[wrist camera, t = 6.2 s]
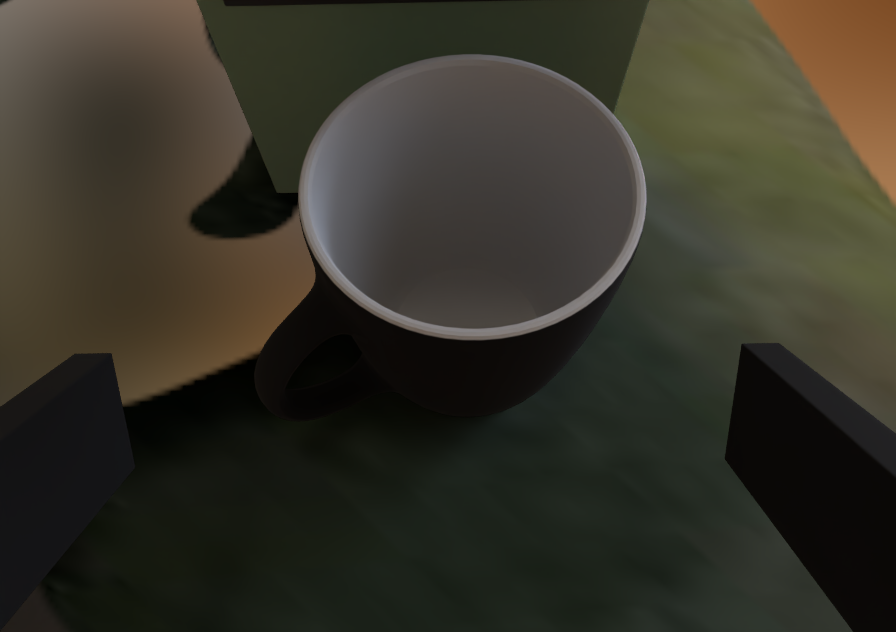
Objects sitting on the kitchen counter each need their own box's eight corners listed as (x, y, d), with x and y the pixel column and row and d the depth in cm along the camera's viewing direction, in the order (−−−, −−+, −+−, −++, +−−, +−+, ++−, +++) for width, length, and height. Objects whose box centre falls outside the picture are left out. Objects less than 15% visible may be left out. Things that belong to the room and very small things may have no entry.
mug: (486, 205, 28) (502, 6, 19) (627, 359, 25) (726, 210, 16) (244, 356, 25) (124, 207, 16) (368, 552, 22) (307, 504, 13)
